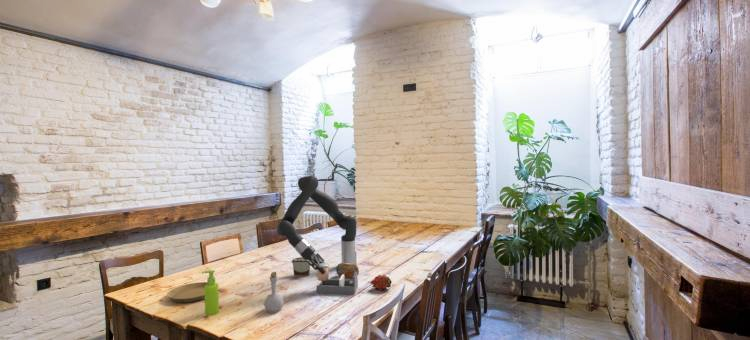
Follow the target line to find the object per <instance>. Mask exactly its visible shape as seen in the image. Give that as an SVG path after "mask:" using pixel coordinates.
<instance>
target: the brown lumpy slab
mask: <svg viewBox="0 0 750 340" xmlns="http://www.w3.org/2000/svg"><path fill="white" fill-rule="evenodd" d="M355 272H357V277H359V273H360V270H359V266H358V265H355V264H349V263H342V262H340V263H338V264H337V265H336V274H337V275H338V276H339V277H341V276H342V274H343V275H344V279H350V280H353V276H354V274H355Z"/></svg>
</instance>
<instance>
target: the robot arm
mask: <svg viewBox="0 0 750 340" xmlns="http://www.w3.org/2000/svg"><path fill="white" fill-rule="evenodd" d="M297 186H298V188H299V190H300V191H301V192H300V194H299V195H298V196H297V197H296V198H295V199H294V200H293V201H291V203H289V205H288V208H287V209H286V211H285V213H284V215H283V217H282V219H281V220H280V222H279V223H278V225H277V227H276V232H277V234H278V235H279V236H281V237H286V238H287V241H288V243H289V245H291V247H293V248H294V250H295V251H296V252H297V253H298V254H299V256H300V257H303V258H304V259H305V260H307V259H309V262H308V264H309V265H310V267H311V268H312V269H313V270H314V271H317V270H319V271H320V272H321V273H322V274H324V273H325V272H326V271H325V270H324V269H323V268H322V267H321V266H320V264H319V263H325V259H324V258H323V257H322V256H321V254H319V252H318V253H315V252H316V249H315V248H314V247H313V245H311V244H310V243H309V242H308V240H305V239H304V237H302V235H300V233H299V232H298V231H297V229H296V228H295V226H294V223H295V221H296V220H297V218H298V217H299V214H300V213H301V211H302V210H303V207H304V206H305V205H306V203H307V202H308V200H309V199H311V200H312V201H313V202H314V203H315V204H317V205H318V206H319V208H321V209H322V211H324V212H325V213H326V214H327V215H328V216H329V217H330V218H331V219H332V220H334V221H333V222H335V223H336V224H337V226H338V227H339V228H340V229H341V230H345V233H344V234H343V235H341V237H340V239H341V240H340V241H341V243H340V244H341V248H340V250H341V263H349V264H355V265H356V266H358V263H357V260H358V259H357V250H356V236H357V219H356V217H354V216H351V215H350V216H349V215H345V214H344V213H342V212H341V210H340V209H339V205H338V203H337V201H336V200H335V199H333V197H331V196H330V195H329V194H327V193H326V192H323V191H321V190H319V189H318V186H319V179H318V178H317V177H316V176H315V175H307V176H302V177H300V178H299V179H298V180H297ZM329 267H330V266H328V269H329Z"/></svg>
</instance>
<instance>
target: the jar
mask: <svg viewBox="0 0 750 340" xmlns="http://www.w3.org/2000/svg"><path fill="white" fill-rule="evenodd" d="M319 264H320V266H321V267H322V268H323V269H324V270H325V271H326V272H325V273H324V274H322V273H321V272H320V271H319V270H316V272H317V273H316V274H317V275H316V276H317V280H318V281H320V282H321V281H325V280H328V279H329V268H328V267H330V266H329V263H327V262H324V263H319Z"/></svg>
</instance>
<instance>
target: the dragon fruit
mask: <svg viewBox="0 0 750 340" xmlns="http://www.w3.org/2000/svg"><path fill="white" fill-rule="evenodd" d="M392 283H393V281H392V279H390V277H389V276H387V275H385V274H382V275H381V274H378V275H377V276H375V277H374V279H372V280H371V281H370V282H369V284H370V285H372V288H373V289H377V290H379V291H382V290H384V291H385V290H387V288H390V287H391V285H392Z"/></svg>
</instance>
